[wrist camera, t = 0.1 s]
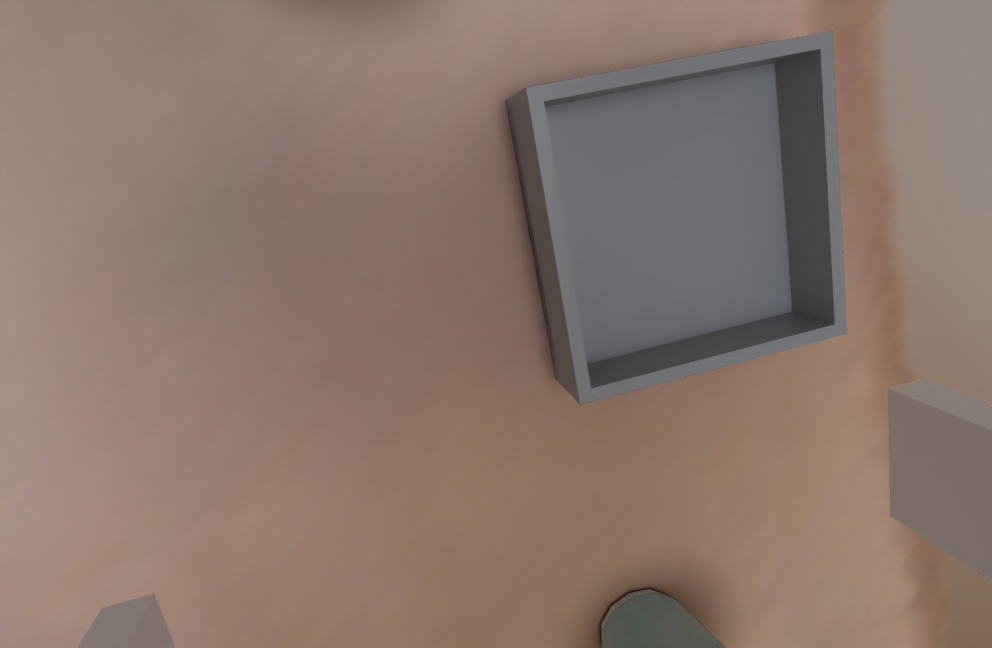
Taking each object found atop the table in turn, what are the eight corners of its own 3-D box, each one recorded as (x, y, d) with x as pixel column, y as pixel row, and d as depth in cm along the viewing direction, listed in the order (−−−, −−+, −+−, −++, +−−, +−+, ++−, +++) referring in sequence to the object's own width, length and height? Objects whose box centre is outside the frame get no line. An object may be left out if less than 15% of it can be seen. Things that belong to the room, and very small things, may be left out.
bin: (505, 100, 36) (526, 87, 31) (774, 50, 38) (832, 30, 33) (555, 378, 40) (580, 404, 35) (793, 317, 43) (846, 333, 38)
